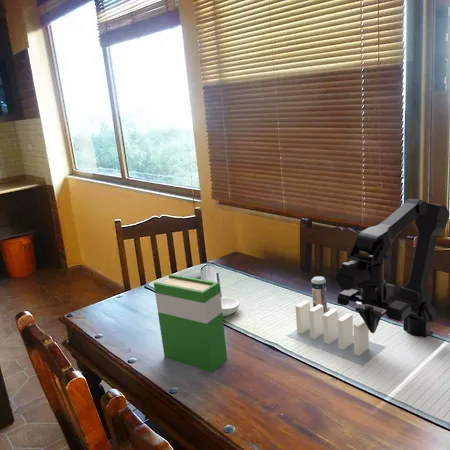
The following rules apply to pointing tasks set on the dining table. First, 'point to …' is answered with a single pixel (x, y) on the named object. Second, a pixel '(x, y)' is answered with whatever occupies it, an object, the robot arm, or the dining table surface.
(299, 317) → the domino
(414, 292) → the robot arm
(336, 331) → the domino
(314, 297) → the spice jar
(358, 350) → the domino
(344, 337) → the domino
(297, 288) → the dining table surface
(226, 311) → the spoon rest
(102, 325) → the dining table surface
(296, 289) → the dining table surface
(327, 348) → the domino board
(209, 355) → the hardback book
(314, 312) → the domino
